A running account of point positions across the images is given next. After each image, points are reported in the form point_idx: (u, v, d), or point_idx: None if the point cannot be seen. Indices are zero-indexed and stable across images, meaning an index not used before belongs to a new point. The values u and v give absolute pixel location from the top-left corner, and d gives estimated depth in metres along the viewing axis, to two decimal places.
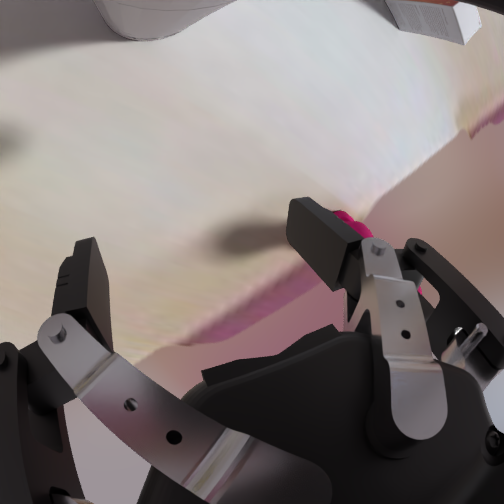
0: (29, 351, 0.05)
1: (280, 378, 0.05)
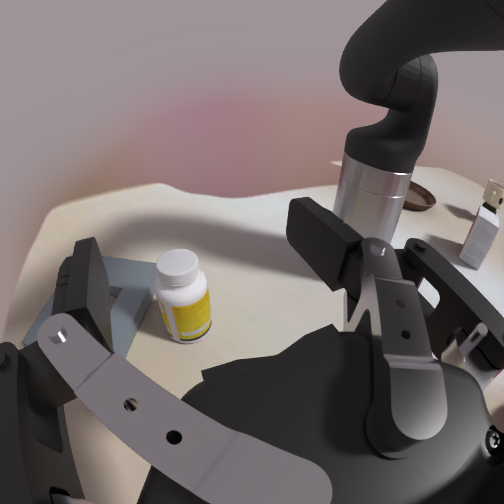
0: (29, 351, 0.05)
1: (280, 378, 0.05)
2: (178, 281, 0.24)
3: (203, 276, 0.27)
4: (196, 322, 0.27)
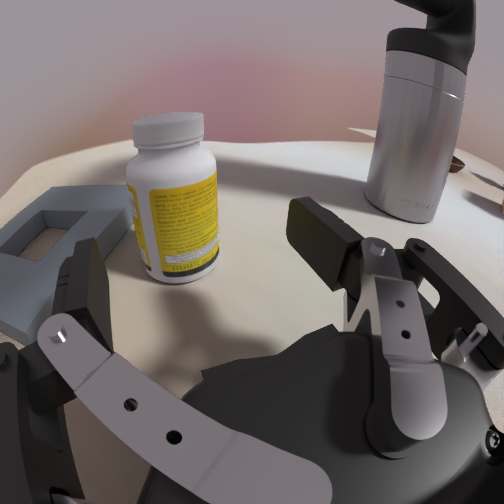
0: (29, 351, 0.05)
1: (280, 378, 0.05)
2: (165, 137, 0.12)
3: (210, 152, 0.15)
4: (193, 234, 0.15)
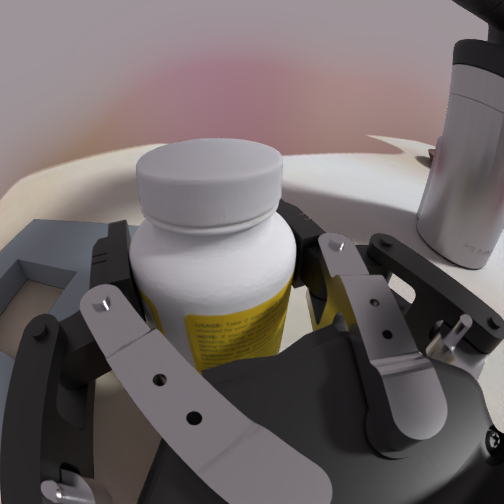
0: (67, 323, 0.06)
1: (280, 378, 0.05)
2: (218, 213, 0.06)
3: (283, 220, 0.09)
4: None
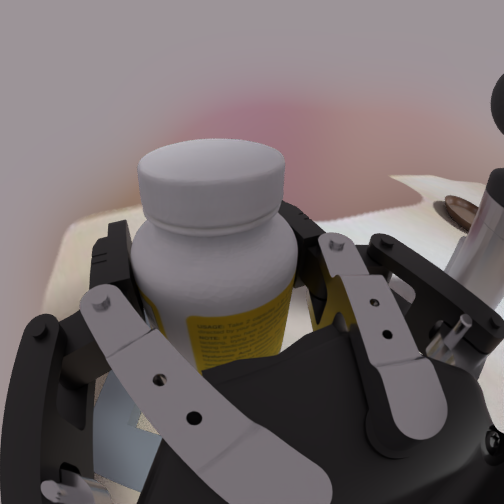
0: (67, 323, 0.06)
1: (280, 378, 0.05)
2: (220, 214, 0.06)
3: (285, 220, 0.09)
4: None
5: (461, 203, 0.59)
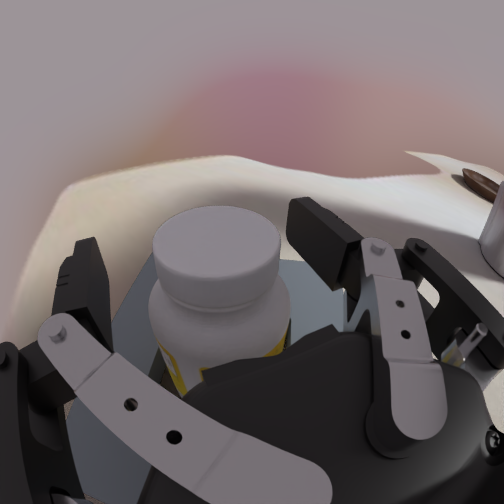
0: (29, 350, 0.05)
1: (280, 378, 0.05)
2: (226, 300, 0.07)
3: (280, 280, 0.10)
4: None
5: (477, 177, 0.53)
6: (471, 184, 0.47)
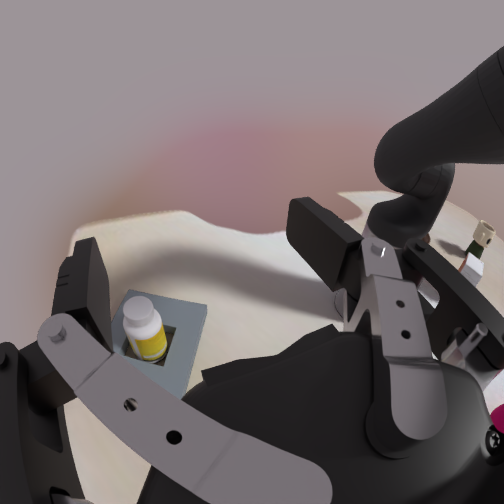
0: (28, 351, 0.05)
1: (280, 378, 0.05)
2: (138, 323, 0.30)
3: (158, 317, 0.33)
4: (153, 350, 0.33)
5: None
6: None
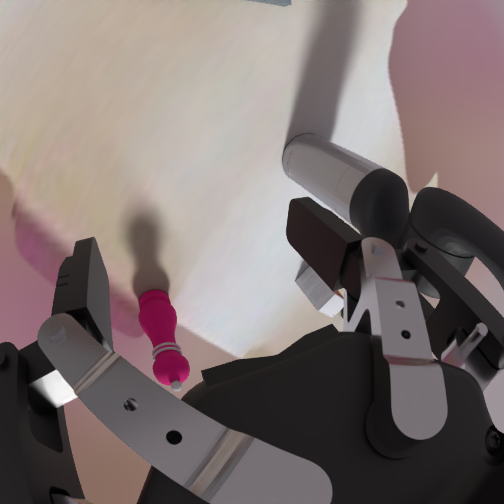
0: (29, 351, 0.05)
1: (280, 378, 0.05)
2: None
3: None
4: None
5: None
6: None
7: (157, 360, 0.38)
